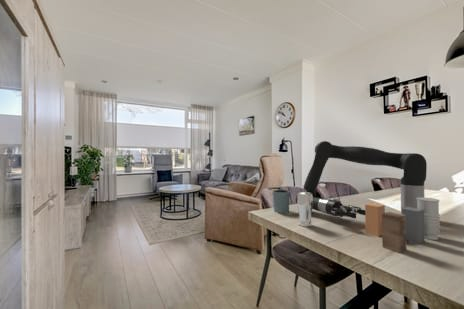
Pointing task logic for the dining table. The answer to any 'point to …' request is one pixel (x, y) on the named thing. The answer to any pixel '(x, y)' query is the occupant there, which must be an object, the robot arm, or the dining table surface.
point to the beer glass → (305, 208)
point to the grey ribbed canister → (430, 216)
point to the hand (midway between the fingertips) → (361, 214)
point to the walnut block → (394, 231)
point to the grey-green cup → (281, 200)
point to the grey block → (414, 224)
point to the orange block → (374, 218)
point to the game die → (335, 199)
